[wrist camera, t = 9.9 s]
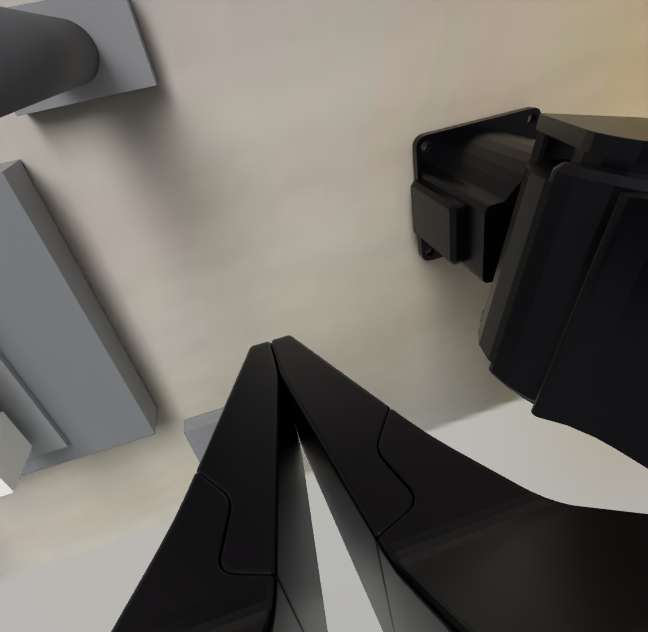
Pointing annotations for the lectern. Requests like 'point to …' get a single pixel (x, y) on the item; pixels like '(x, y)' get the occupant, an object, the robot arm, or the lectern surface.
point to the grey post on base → (69, 54)
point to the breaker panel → (58, 341)
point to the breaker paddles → (11, 455)
